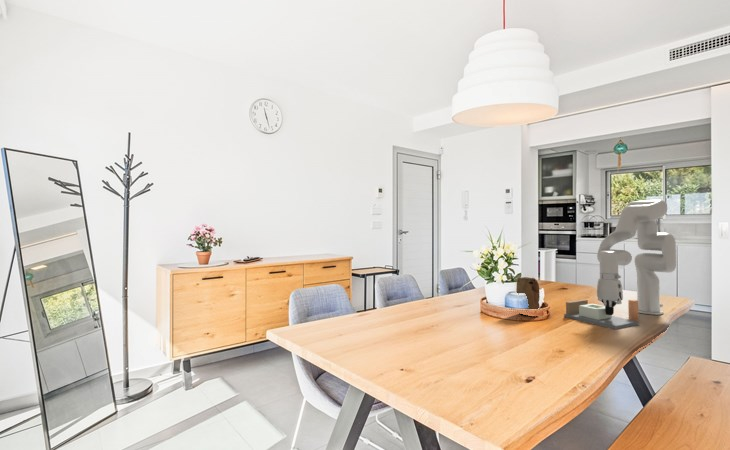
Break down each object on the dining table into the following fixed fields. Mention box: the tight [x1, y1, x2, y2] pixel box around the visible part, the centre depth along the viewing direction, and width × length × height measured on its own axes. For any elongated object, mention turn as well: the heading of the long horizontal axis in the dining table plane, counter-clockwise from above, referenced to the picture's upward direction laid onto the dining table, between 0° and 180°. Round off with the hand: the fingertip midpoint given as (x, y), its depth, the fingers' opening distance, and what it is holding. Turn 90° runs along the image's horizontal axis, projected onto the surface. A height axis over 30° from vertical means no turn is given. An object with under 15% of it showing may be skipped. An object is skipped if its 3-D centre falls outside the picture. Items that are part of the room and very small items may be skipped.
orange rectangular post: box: [627, 299, 640, 323], centre depth 184 cm, size 4×4×10 cm
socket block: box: [579, 303, 613, 320], centre depth 188 cm, size 10×10×5 cm
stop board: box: [563, 299, 639, 330], centre depth 186 cm, size 17×26×8 cm, turn 24°
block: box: [516, 276, 541, 309], centre depth 199 cm, size 11×8×20 cm
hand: (609, 314), depth 182 cm, fingers closed
